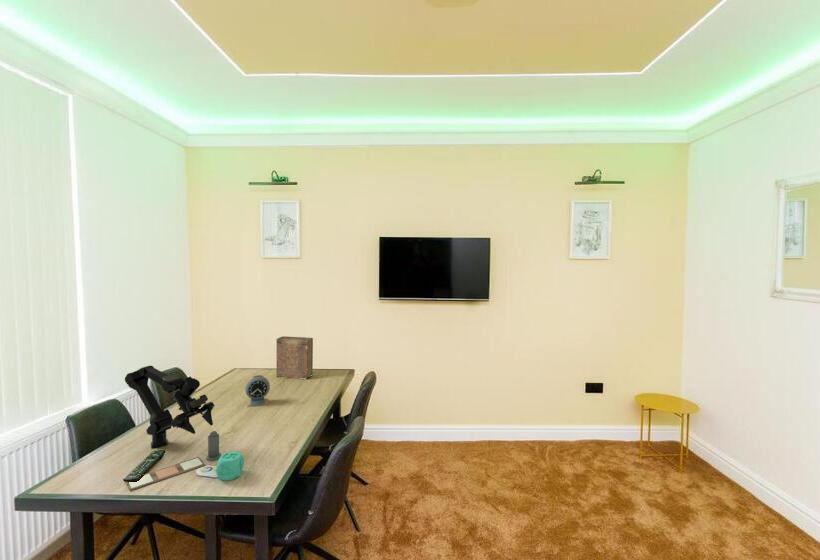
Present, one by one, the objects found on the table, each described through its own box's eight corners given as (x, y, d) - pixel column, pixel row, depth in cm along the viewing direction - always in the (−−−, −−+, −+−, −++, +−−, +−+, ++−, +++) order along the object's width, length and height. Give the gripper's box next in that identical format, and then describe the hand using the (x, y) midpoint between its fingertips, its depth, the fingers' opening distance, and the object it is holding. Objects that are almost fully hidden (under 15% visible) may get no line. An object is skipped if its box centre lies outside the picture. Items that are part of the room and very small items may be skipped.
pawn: (205, 456, 168) (205, 430, 168) (219, 453, 171) (219, 427, 171) (207, 462, 163) (207, 435, 163) (221, 458, 167) (221, 432, 166)
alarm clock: (245, 407, 225) (245, 378, 225) (245, 402, 234) (245, 374, 233) (270, 404, 231) (270, 376, 230) (269, 399, 240) (269, 371, 239)
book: (312, 376, 290) (313, 337, 289) (307, 379, 281) (308, 340, 280) (282, 374, 294) (282, 336, 293) (276, 377, 285) (276, 338, 284)
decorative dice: (236, 480, 150) (236, 461, 150) (216, 481, 150) (216, 461, 149) (244, 469, 158) (244, 451, 158) (224, 470, 158) (224, 451, 157)
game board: (125, 481, 148) (125, 480, 148) (198, 457, 167) (198, 456, 167) (130, 491, 142) (130, 490, 142) (205, 465, 161) (205, 464, 161)
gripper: (175, 397, 161) (195, 426, 158) (211, 384, 179) (229, 410, 175) (162, 413, 164) (181, 442, 161) (199, 398, 182) (216, 424, 178)
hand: (203, 429), depth 169 cm, fingers open, 9 cm apart
